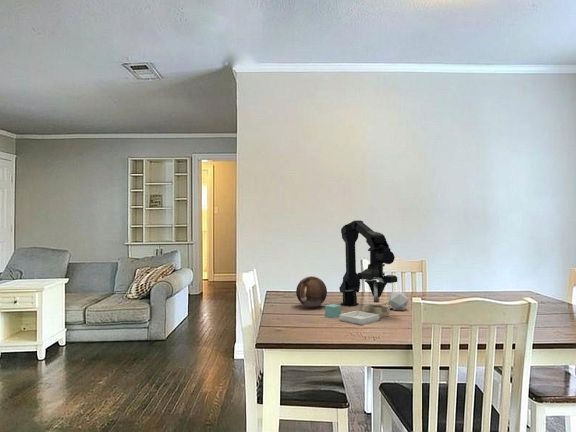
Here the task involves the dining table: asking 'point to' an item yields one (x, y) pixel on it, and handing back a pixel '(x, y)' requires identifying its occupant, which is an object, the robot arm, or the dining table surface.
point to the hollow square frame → (377, 309)
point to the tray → (359, 317)
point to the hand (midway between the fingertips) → (376, 296)
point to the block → (332, 310)
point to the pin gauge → (376, 293)
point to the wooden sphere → (311, 291)
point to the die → (398, 301)
